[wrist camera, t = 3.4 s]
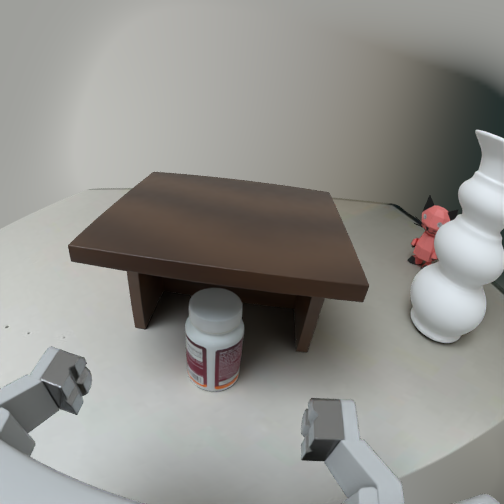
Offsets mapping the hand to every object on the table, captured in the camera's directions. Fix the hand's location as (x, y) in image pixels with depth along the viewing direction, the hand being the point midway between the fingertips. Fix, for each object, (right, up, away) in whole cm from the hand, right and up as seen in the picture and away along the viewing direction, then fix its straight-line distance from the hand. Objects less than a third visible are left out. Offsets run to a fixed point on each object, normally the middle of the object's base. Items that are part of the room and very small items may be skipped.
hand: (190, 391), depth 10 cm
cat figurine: (+32, +2, +40) cm, 51 cm away
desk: (-1, -4, +21) cm, 21 cm away
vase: (+26, -5, +26) cm, 37 cm away
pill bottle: (-1, -6, +18) cm, 19 cm away
